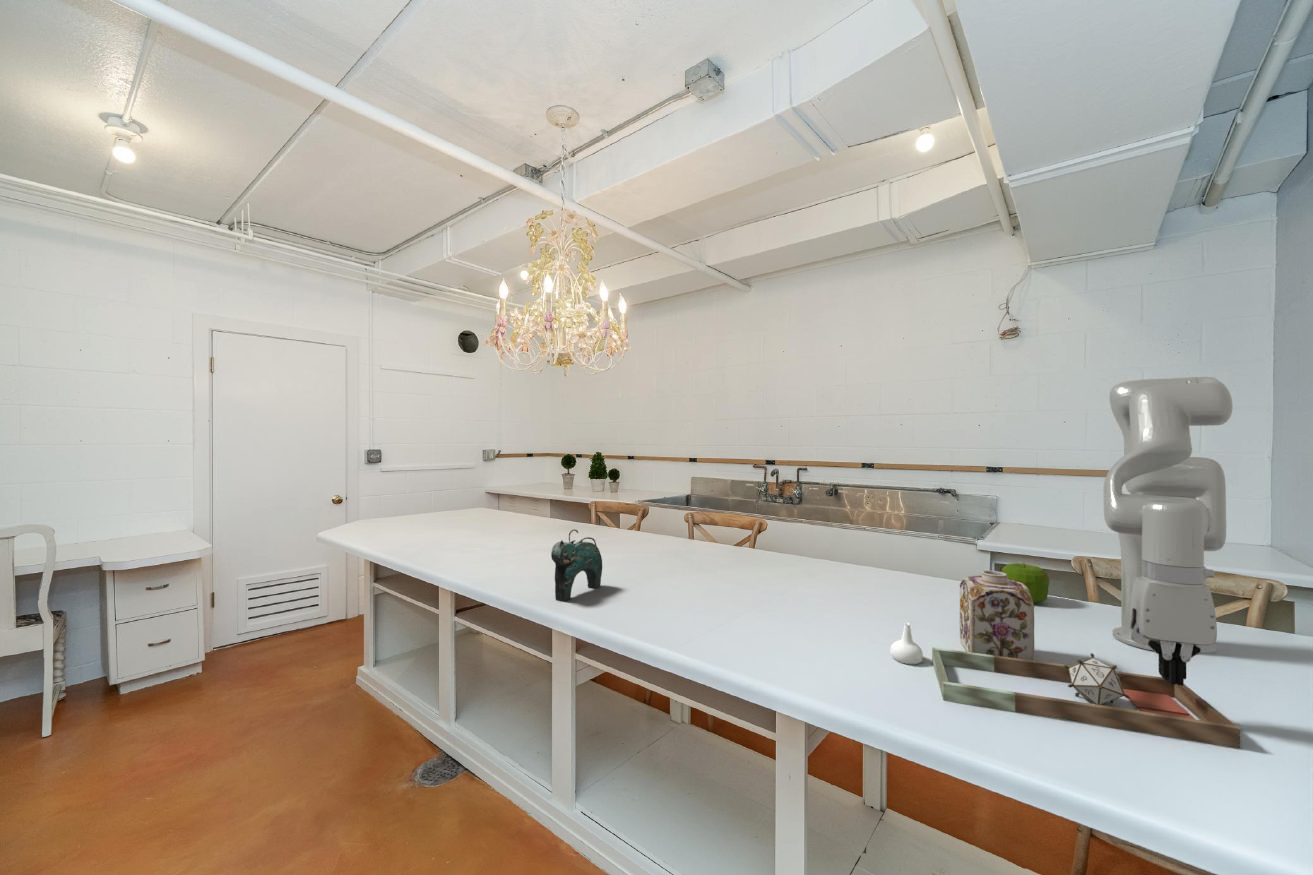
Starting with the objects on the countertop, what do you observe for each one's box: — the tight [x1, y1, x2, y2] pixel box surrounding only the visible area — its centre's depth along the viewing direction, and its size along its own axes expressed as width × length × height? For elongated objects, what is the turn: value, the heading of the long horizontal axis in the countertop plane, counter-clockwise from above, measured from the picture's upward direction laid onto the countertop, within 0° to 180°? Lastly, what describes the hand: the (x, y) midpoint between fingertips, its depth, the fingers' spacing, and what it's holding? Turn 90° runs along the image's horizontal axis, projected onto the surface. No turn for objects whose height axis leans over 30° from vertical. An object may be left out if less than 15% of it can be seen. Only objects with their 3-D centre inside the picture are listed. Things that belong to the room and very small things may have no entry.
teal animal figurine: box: [550, 529, 603, 603], centre depth 159 cm, size 20×6×20 cm, turn 147°
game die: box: [1063, 652, 1131, 706], centre depth 93 cm, size 9×8×10 cm
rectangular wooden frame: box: [931, 647, 1241, 749], centre depth 95 cm, size 40×17×3 cm, turn 68°
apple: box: [1001, 562, 1050, 604], centre depth 149 cm, size 11×11×11 cm
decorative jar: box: [959, 570, 1035, 661], centre depth 113 cm, size 12×12×18 cm
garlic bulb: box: [889, 622, 924, 665], centre depth 111 cm, size 6×6×8 cm
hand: (1172, 681), depth 88 cm, fingers closed
